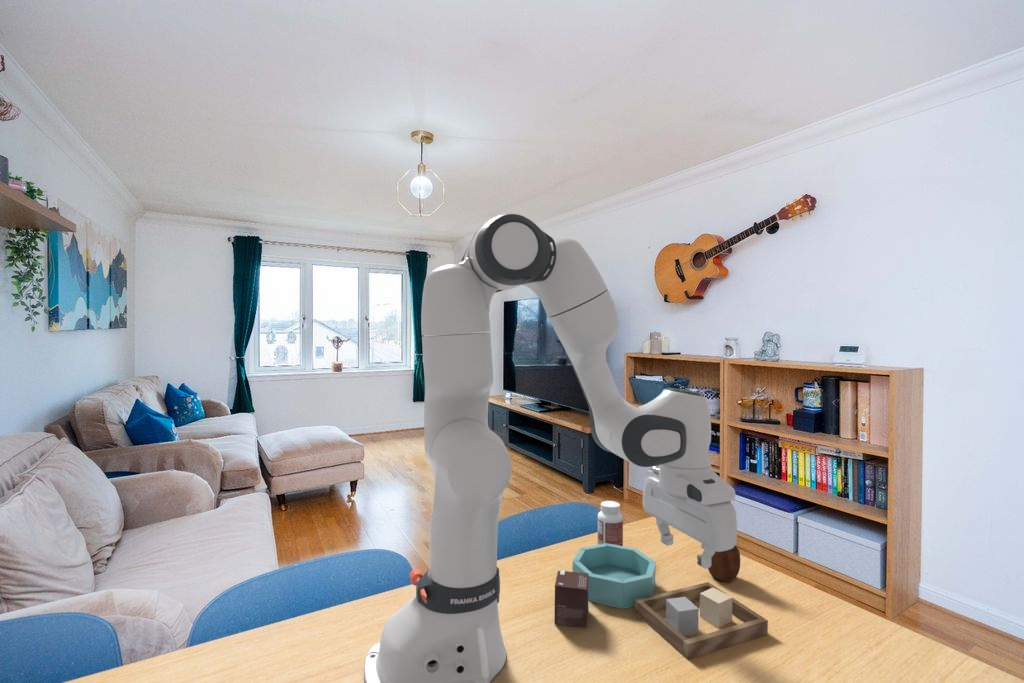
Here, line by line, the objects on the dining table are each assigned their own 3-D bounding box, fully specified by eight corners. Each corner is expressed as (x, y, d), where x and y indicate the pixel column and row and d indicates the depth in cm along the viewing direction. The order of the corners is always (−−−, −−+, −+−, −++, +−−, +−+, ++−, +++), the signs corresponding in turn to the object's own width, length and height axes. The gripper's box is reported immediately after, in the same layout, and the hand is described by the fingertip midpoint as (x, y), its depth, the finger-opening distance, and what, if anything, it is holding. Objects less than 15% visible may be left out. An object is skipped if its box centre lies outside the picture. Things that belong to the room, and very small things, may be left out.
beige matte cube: (718, 628, 87) (718, 603, 87) (699, 616, 90) (699, 593, 90) (731, 621, 89) (732, 597, 89) (712, 610, 92) (713, 587, 92)
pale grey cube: (678, 637, 84) (678, 611, 84) (665, 623, 88) (666, 599, 88) (698, 633, 85) (698, 608, 85) (684, 620, 89) (685, 596, 89)
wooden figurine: (733, 572, 107) (734, 505, 107) (743, 585, 101) (744, 515, 101) (702, 570, 108) (703, 504, 107) (710, 583, 102) (711, 513, 102)
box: (587, 630, 86) (587, 589, 86) (553, 625, 87) (554, 585, 87) (588, 610, 92) (589, 572, 92) (557, 606, 93) (557, 569, 93)
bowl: (602, 614, 90) (602, 587, 90) (561, 573, 105) (562, 551, 105) (670, 597, 97) (671, 572, 96) (623, 561, 112) (623, 540, 111)
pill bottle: (626, 547, 119) (627, 503, 119) (616, 556, 114) (616, 510, 114) (604, 540, 123) (604, 497, 122) (592, 549, 118) (593, 504, 118)
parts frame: (687, 659, 78) (687, 644, 78) (634, 612, 91) (635, 599, 91) (767, 634, 85) (767, 620, 85) (708, 594, 98) (708, 582, 98)
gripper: (634, 465, 94) (634, 534, 95) (713, 498, 75) (713, 585, 76) (660, 461, 97) (660, 529, 97) (743, 493, 78) (743, 577, 78)
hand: (684, 554), depth 86 cm, fingers open, 8 cm apart
